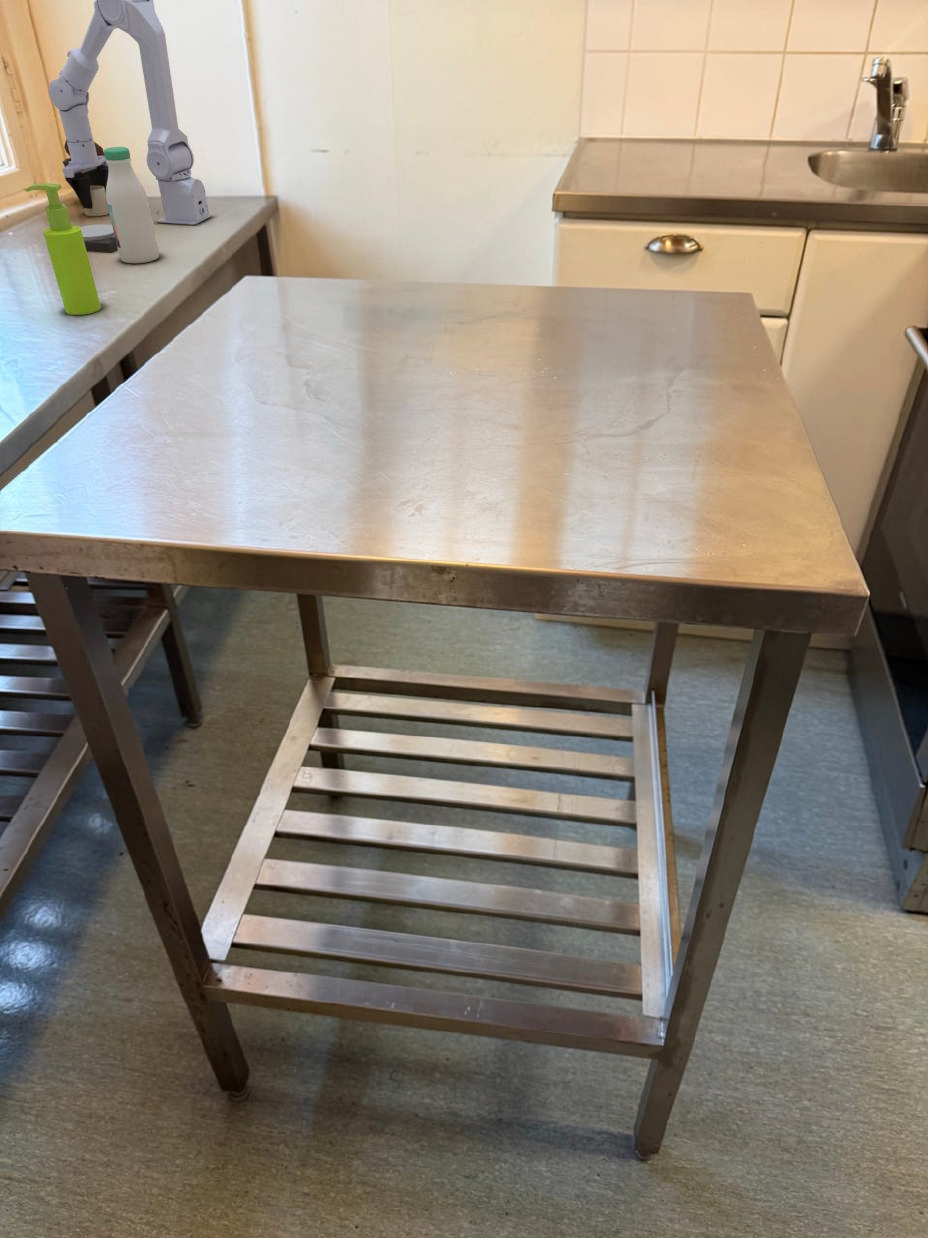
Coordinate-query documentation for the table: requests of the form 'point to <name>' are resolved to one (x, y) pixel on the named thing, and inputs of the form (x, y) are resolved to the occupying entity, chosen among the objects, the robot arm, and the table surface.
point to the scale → (99, 238)
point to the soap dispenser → (68, 256)
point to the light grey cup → (97, 202)
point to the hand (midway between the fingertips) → (95, 204)
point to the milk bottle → (129, 209)
